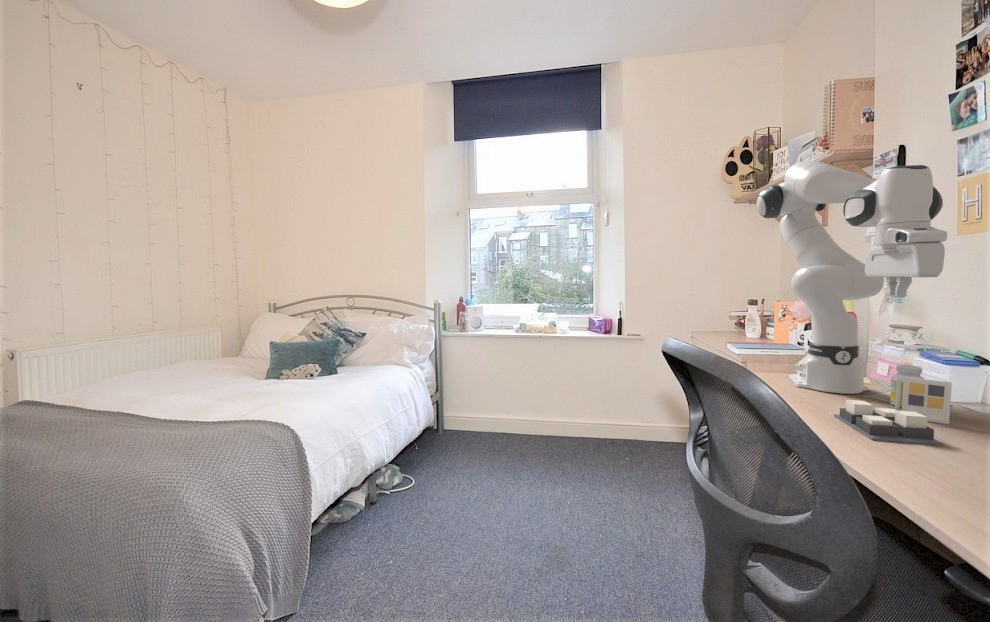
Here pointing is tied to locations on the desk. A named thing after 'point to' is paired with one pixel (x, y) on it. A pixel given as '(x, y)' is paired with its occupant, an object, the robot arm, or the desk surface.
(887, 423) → the button
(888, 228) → the robot arm
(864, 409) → the button
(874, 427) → the button board
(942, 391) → the card
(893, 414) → the button
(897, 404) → the pill bottle
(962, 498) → the desk surface
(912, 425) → the button
